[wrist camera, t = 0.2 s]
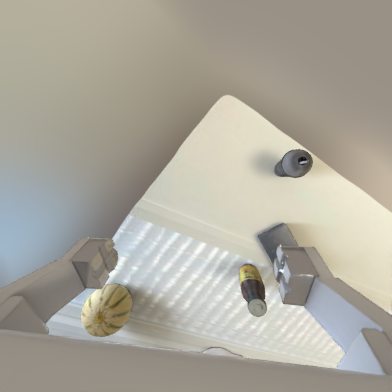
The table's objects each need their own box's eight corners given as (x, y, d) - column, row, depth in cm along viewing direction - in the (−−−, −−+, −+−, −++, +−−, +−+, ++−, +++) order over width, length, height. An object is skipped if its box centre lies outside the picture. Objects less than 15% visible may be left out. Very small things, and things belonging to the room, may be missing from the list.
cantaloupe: (97, 308, 69) (63, 340, 54) (106, 270, 68) (74, 292, 53) (134, 322, 67) (109, 359, 52) (144, 283, 66) (121, 309, 51)
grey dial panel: (305, 262, 59) (310, 265, 56) (279, 274, 60) (282, 278, 57) (282, 222, 60) (286, 224, 57) (257, 235, 61) (259, 238, 58)
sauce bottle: (260, 267, 61) (279, 301, 41) (254, 284, 61) (269, 327, 41) (241, 259, 62) (250, 290, 42) (235, 277, 62) (241, 315, 42)
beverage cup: (298, 167, 59) (338, 153, 39) (283, 185, 60) (314, 181, 40) (280, 153, 60) (309, 133, 40) (265, 171, 60) (286, 160, 40)
